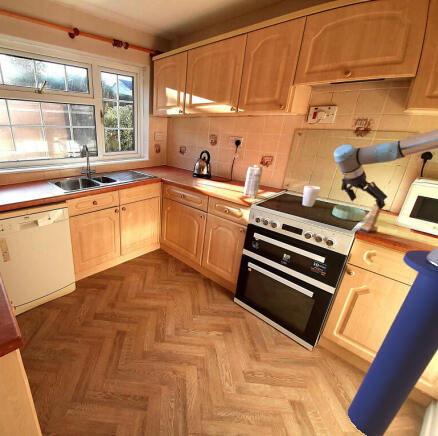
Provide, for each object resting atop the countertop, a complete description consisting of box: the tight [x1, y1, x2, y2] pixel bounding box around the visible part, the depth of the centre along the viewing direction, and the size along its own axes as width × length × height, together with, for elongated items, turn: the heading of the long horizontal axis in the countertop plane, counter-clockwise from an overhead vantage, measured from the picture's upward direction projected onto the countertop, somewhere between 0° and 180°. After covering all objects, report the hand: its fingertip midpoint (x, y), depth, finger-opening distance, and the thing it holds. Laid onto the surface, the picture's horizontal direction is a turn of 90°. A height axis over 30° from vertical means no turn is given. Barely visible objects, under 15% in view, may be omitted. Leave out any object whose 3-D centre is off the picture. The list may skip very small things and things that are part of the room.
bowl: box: [331, 204, 367, 222], centre depth 149 cm, size 15×16×5 cm
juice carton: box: [243, 164, 263, 199], centre depth 183 cm, size 9×8×24 cm
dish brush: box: [359, 203, 382, 234], centre depth 127 cm, size 6×4×15 cm, turn 103°
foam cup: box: [301, 185, 322, 208], centre depth 168 cm, size 10×9×13 cm
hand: (367, 202), depth 122 cm, fingers open, 13 cm apart
